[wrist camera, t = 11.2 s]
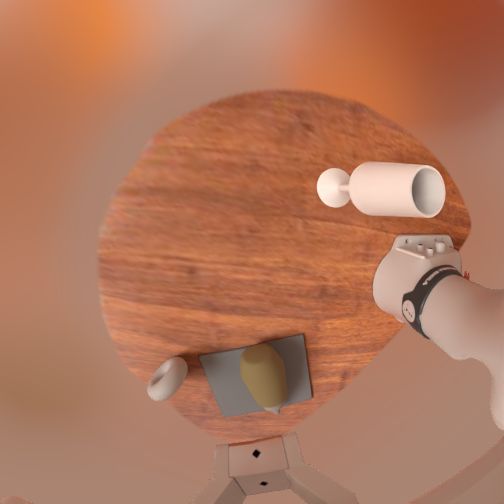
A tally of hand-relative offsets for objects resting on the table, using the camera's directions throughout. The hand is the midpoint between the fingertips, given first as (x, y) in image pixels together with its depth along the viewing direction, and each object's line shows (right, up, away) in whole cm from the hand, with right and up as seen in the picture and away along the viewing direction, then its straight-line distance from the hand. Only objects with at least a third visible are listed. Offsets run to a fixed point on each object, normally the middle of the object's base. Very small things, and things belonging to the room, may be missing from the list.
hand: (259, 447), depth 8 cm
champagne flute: (+14, +18, +35) cm, 42 cm away
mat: (+1, -19, +43) cm, 46 cm away
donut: (-16, -15, +41) cm, 46 cm away
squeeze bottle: (+1, -10, +35) cm, 37 cm away
